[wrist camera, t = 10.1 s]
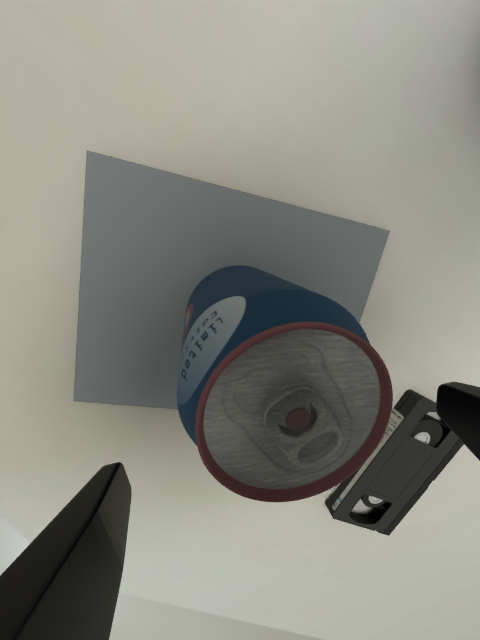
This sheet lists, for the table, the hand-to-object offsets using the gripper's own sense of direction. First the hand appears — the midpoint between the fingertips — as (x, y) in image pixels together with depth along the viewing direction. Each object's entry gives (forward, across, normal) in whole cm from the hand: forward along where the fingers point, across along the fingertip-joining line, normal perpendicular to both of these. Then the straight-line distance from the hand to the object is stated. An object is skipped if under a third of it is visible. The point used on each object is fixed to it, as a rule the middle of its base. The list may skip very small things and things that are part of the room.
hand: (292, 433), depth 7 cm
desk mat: (+12, 0, 0) cm, 13 cm away
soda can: (+12, 0, 0) cm, 12 cm away
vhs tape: (+13, -14, +18) cm, 26 cm away
